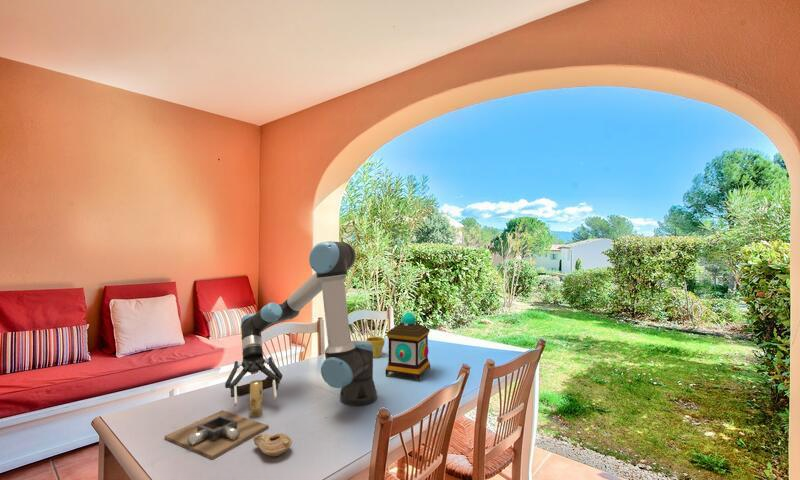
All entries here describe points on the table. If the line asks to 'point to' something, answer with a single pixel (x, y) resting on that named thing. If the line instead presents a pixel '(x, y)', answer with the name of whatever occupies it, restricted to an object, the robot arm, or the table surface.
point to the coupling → (256, 398)
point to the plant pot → (376, 345)
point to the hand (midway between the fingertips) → (255, 401)
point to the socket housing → (209, 433)
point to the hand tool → (246, 387)
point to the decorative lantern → (408, 347)
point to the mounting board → (221, 445)
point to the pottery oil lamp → (273, 443)
